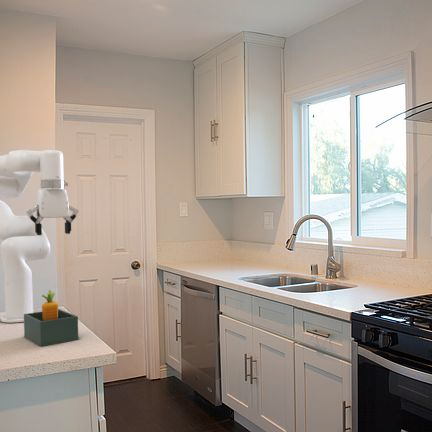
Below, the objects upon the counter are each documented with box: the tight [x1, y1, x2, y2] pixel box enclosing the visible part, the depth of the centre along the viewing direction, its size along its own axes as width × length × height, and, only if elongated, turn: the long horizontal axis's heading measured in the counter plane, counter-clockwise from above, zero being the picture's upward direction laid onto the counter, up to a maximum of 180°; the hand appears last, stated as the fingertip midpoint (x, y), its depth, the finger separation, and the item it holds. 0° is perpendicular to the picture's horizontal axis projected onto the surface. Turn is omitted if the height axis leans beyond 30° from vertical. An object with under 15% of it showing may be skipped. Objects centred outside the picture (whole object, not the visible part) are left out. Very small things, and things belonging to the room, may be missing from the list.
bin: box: [23, 308, 79, 347], centre depth 177 cm, size 17×12×8 cm
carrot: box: [41, 289, 59, 321], centre depth 177 cm, size 5×5×15 cm
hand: (53, 234), depth 190 cm, fingers open, 9 cm apart
